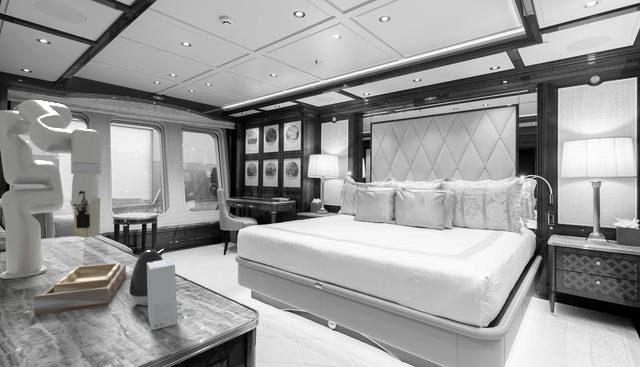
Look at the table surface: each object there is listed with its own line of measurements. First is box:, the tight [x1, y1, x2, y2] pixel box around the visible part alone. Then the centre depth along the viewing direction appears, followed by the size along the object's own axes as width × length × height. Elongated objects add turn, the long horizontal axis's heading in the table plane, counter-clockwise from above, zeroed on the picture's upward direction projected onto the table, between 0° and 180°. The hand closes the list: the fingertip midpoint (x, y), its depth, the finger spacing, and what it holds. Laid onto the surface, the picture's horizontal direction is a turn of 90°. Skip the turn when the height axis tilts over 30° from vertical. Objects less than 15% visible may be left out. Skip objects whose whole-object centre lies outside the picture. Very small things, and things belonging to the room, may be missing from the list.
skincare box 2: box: [147, 258, 178, 331], centre depth 78 cm, size 8×6×15 cm
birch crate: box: [53, 262, 121, 293], centre depth 102 cm, size 20×13×4 cm, turn 23°
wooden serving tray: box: [33, 264, 127, 316], centre depth 98 cm, size 29×16×5 cm, turn 23°
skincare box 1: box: [73, 197, 101, 238], centre depth 98 cm, size 6×4×12 cm
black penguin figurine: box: [129, 248, 166, 307], centre depth 91 cm, size 10×10×15 cm
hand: (87, 225), depth 98 cm, fingers closed on skincare box 1, 7 cm apart
